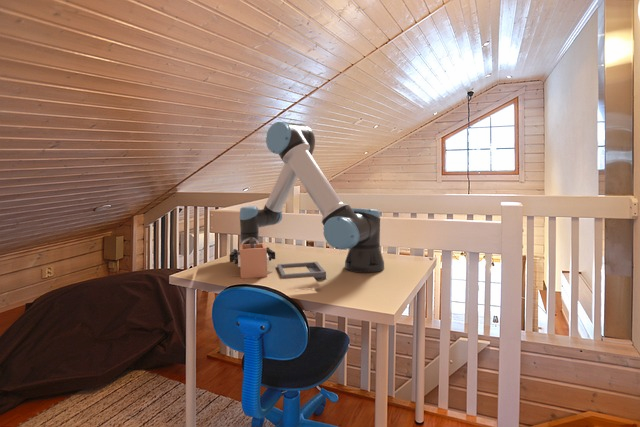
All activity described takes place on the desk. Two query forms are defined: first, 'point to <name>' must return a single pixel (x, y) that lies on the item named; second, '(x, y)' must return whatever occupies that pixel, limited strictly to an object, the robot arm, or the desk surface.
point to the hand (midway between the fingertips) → (253, 261)
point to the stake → (252, 245)
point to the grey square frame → (312, 267)
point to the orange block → (253, 261)
